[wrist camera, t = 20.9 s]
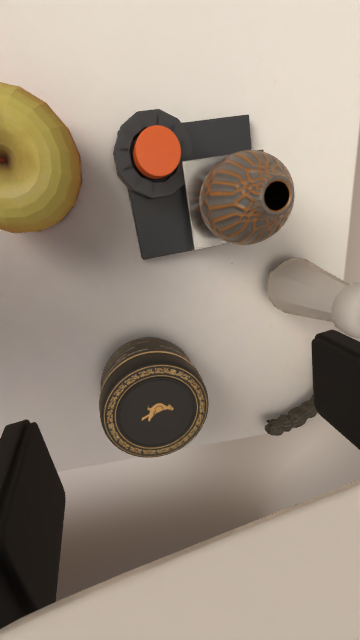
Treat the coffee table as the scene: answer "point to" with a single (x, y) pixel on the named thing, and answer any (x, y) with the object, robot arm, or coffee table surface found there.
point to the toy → (292, 418)
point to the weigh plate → (193, 182)
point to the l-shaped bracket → (171, 175)
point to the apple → (34, 163)
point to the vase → (246, 197)
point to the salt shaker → (315, 294)
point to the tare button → (157, 152)
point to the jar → (151, 398)
